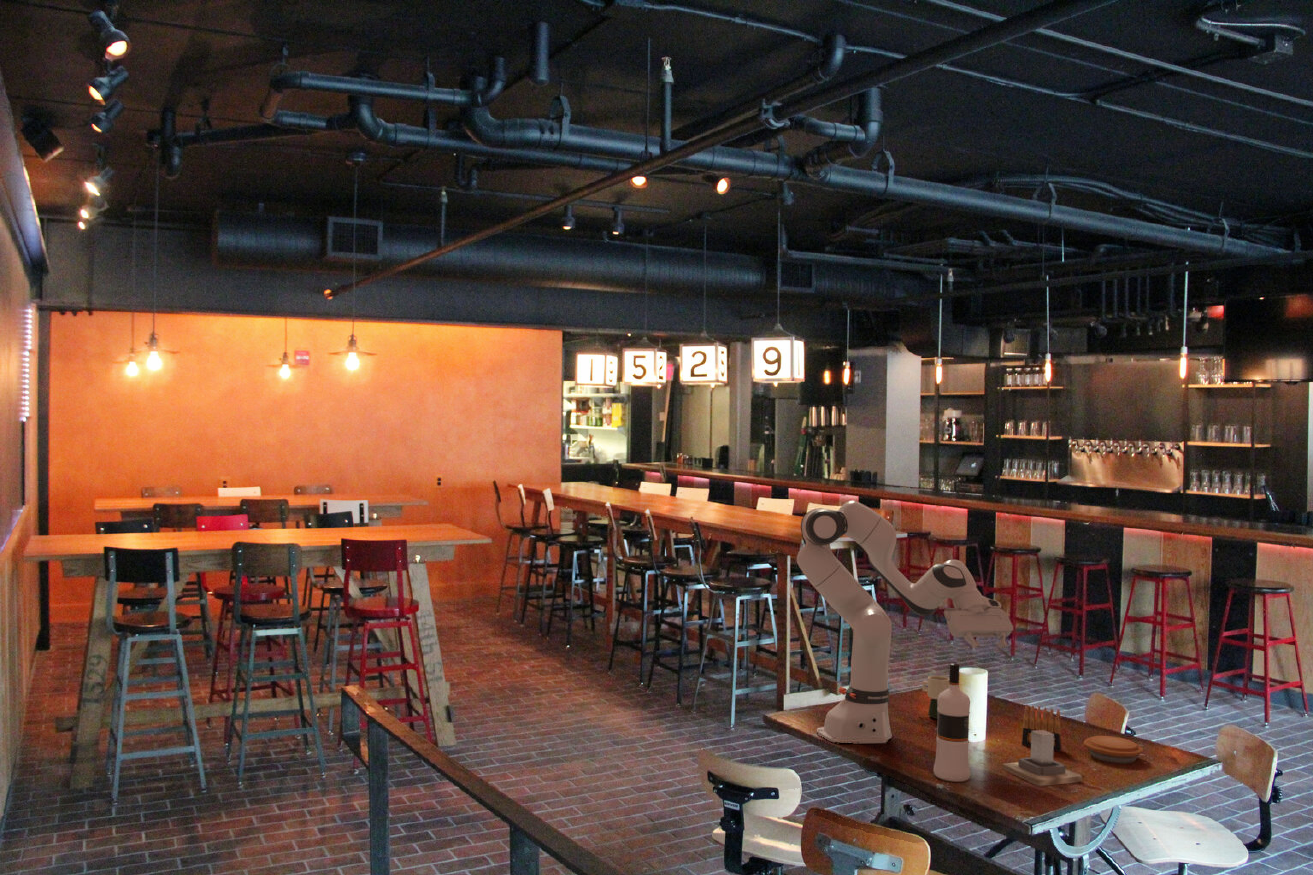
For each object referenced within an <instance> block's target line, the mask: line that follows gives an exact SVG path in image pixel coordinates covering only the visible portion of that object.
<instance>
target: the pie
mask: <svg viewBox="0 0 1313 875" xmlns="http://www.w3.org/2000/svg"><path fill="white" fill-rule="evenodd" d="M1083 745H1084V746H1085V747H1086V748H1087V749H1088V751H1089V752H1090V753H1089V754H1090V755H1091V756H1092V757H1093V758H1095V759H1097V760H1100V761H1103V762H1107V763H1111V764H1123V765H1125V764H1126V765H1127V764H1132V763H1134V762H1135V761H1136V760H1137V758H1138V757H1139V756H1140V755H1141V754H1142V753H1143V751H1144V748H1143V747H1141V746H1140V745H1139V744H1137V743H1136V742H1134V741H1132V740H1129V739H1126V738H1124V737H1123V738H1122V737H1117V736H1110V735H1095V736H1094V735H1093V736H1091V737H1088V738H1086V739H1084V741H1083Z"/></svg>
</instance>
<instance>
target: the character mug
mask: <svg viewBox="0 0 1313 875" xmlns="http://www.w3.org/2000/svg"><path fill="white" fill-rule="evenodd" d="M926 685H927V687H926ZM921 687H922V692H927V697H928V698H931V699H930V701H929V707H928V712H927V713H928V714H927V715H928V716H929V717H931V718H932V719H936V720H938V710H937V708H938V704H937V698H938V696H939V694H940V693H941V692H943V691H944V690H946V689H948V688H949V676H943V675H929V676H928V677H927V680H924V681H922V686H921Z"/></svg>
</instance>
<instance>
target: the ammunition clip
mask: <svg viewBox="0 0 1313 875" xmlns="http://www.w3.org/2000/svg"><path fill="white" fill-rule="evenodd" d="M1053 709H1054V708H1052V707H1051V708H1050V711H1049V717H1048V709H1047V707H1044V709H1043V712H1042V710H1041V706H1037V711H1035V710H1036V709H1035V706H1034V705H1032V706H1031V709H1030V710H1029V706H1028V704H1026V705H1025V707H1024V712H1023V713H1024V714H1023V722H1022V724H1023V726H1022V738H1021V739H1022V740H1021V745H1022V746H1024V747H1025V746H1026V747H1030V748H1031V731H1035V730H1045V731H1048V732H1050V733H1053V734H1054V748H1053V752H1061V751H1062V734H1061V733H1062V732H1061V731H1062V729H1061V728H1062V727H1061V726H1062V723H1061V713H1060V710H1059V709H1057V710H1056V715H1055V714H1054V710H1053ZM1029 713H1030V714H1029ZM1042 713H1043V714H1042Z"/></svg>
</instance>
